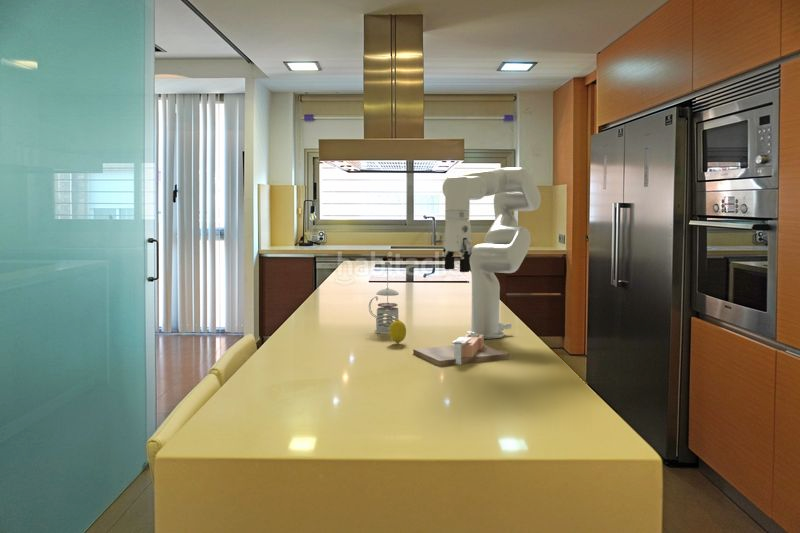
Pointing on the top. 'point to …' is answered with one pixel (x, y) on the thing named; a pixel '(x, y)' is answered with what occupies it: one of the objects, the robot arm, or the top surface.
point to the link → (473, 345)
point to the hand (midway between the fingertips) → (456, 270)
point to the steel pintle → (473, 334)
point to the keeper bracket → (459, 349)
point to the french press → (385, 309)
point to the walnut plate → (446, 355)
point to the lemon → (397, 331)
